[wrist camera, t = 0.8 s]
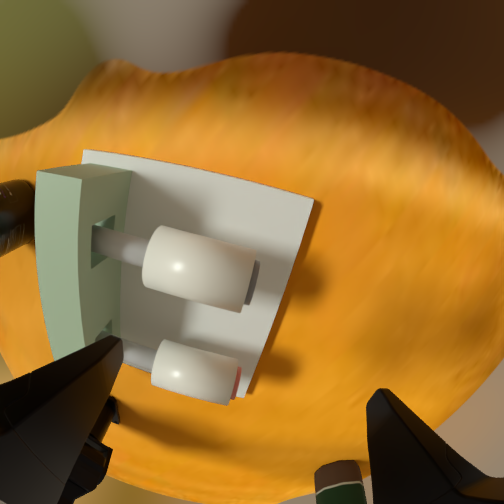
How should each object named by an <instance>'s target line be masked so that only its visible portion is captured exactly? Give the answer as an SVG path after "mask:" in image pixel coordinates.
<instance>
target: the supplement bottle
mask: <svg viewBox="0 0 504 504" xmlns="http://www.w3.org/2000/svg"><path fill="white" fill-rule="evenodd" d="M34 236H35V194H34V192H33V190H32V188H31V187H30V186H29V185H28V184H27V183H26V182H25V181H23V180H19V179H18V180H12V181H7V182H3V183H0V257H2V256H4V255H6V254H7V253H9V252H11V251H13V250H15V249H17V248H19V247H21V246H23V245H25V244H27V243H28V242H30V241H31V240H32V239H33V238H34Z"/></svg>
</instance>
